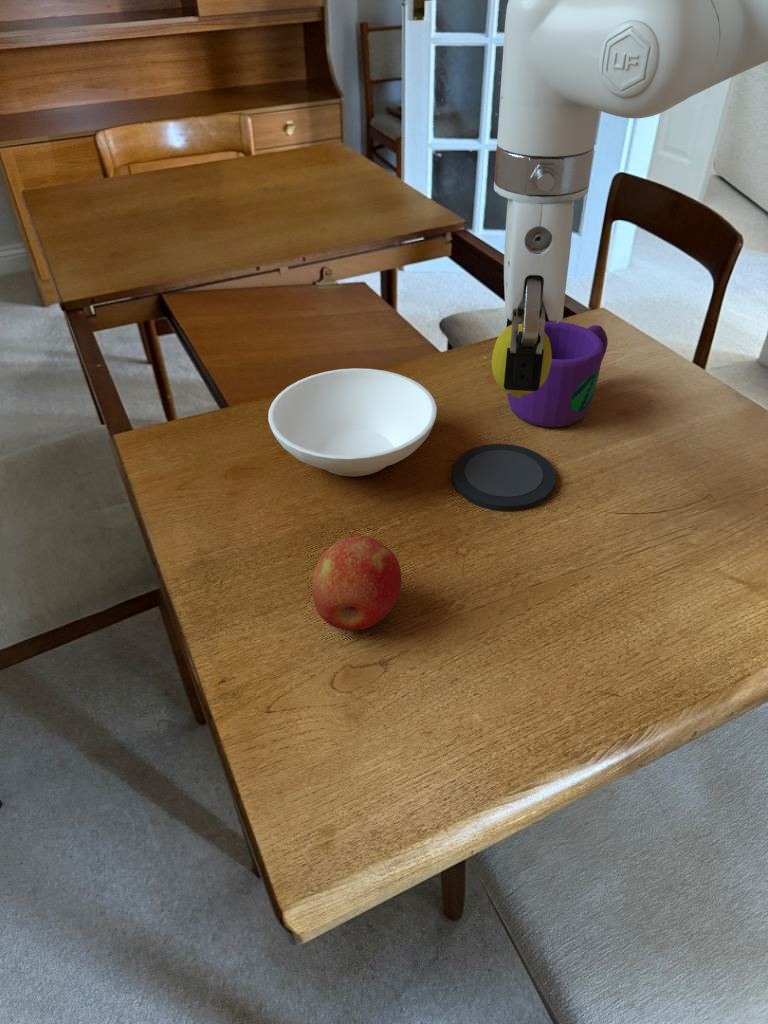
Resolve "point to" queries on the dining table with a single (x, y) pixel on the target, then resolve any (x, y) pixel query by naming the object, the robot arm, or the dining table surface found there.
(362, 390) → the bowl
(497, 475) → the plate
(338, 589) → the apple
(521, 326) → the lemon
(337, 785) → the dining table surface
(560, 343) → the mug
